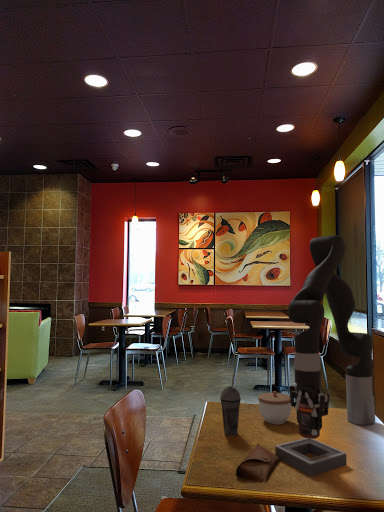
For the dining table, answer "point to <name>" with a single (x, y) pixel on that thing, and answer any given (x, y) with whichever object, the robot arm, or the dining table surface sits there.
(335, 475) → the dining table surface
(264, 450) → the sunglasses case
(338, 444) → the dining table surface
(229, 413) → the beverage cup
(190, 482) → the dining table surface
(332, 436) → the dining table surface
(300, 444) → the holder block
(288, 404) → the lidded bowl
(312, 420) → the supplement bottle
